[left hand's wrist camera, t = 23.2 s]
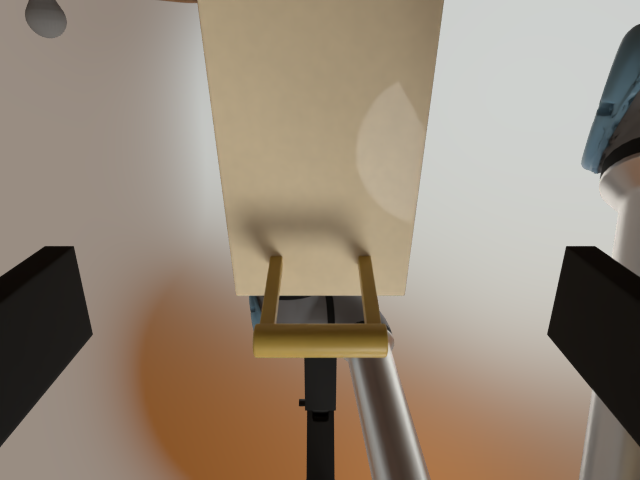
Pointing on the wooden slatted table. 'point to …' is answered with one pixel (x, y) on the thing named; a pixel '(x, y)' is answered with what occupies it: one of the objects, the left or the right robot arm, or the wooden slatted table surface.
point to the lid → (320, 154)
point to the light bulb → (45, 18)
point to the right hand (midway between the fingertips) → (320, 402)
